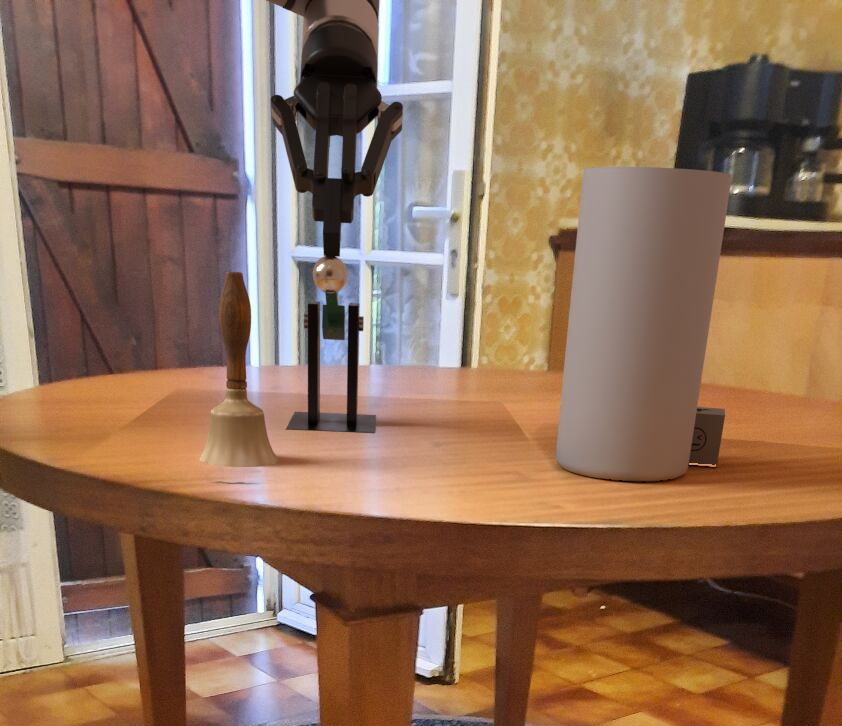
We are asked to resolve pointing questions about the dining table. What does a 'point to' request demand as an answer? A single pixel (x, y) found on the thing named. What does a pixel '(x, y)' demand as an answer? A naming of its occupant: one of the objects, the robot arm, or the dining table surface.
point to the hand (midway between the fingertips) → (331, 244)
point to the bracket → (313, 417)
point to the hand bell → (237, 391)
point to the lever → (331, 295)
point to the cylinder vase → (639, 319)
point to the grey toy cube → (707, 435)
